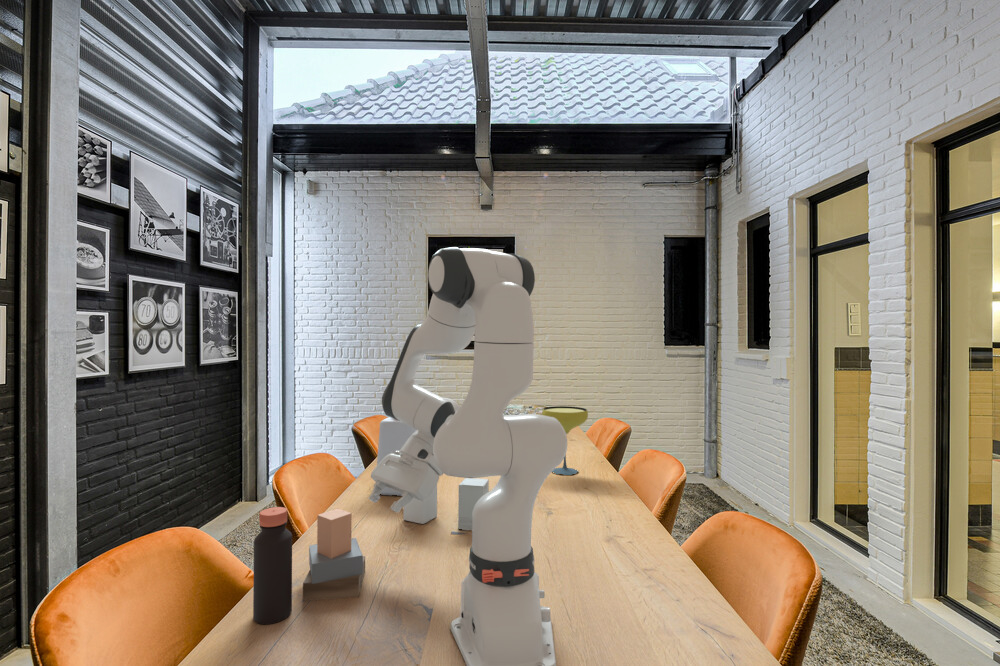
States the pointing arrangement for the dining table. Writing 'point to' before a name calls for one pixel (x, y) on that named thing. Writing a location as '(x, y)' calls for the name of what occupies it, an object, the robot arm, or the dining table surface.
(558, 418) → the cocktail glass
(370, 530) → the dining table surface
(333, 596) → the tower base block
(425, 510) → the milk carton
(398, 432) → the plastic bottle
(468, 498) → the supplement box
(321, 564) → the tower top block
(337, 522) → the terracotta block
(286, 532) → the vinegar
